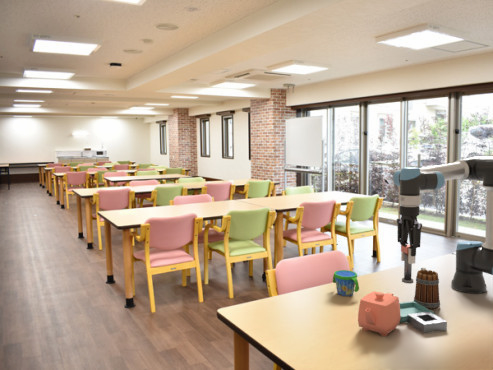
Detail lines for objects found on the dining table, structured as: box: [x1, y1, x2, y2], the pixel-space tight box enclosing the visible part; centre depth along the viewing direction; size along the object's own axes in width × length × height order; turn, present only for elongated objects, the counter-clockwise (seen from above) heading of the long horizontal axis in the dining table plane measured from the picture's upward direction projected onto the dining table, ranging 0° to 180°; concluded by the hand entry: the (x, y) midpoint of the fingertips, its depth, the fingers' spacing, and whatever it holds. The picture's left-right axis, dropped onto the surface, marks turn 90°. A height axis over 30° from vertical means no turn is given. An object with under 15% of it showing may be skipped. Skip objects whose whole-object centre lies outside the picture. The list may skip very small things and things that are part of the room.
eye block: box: [406, 312, 448, 335], centre depth 159 cm, size 10×10×4 cm
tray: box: [399, 300, 436, 324], centre depth 171 cm, size 16×13×2 cm
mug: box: [413, 267, 441, 311], centre depth 182 cm, size 16×11×15 cm
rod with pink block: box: [400, 244, 414, 284], centre depth 169 cm, size 4×4×15 cm
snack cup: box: [332, 269, 360, 297], centre depth 195 cm, size 16×10×10 cm
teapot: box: [357, 291, 400, 337], centre depth 157 cm, size 22×13×14 cm, turn 138°
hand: (408, 261), depth 169 cm, fingers closed on rod with pink block, 4 cm apart
